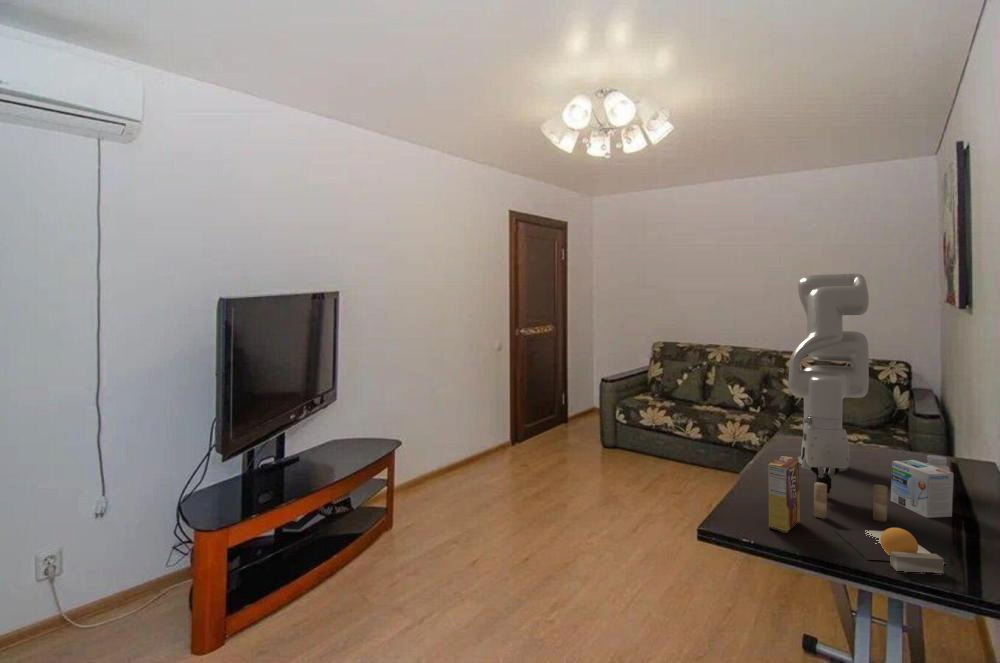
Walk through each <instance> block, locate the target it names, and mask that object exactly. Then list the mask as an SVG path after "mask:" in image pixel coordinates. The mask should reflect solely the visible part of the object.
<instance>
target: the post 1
mask: <svg viewBox="0 0 1000 663" xmlns="http://www.w3.org/2000/svg"><path fill="white" fill-rule="evenodd" d="M813 486H814V487H813V489H814V490H813V517H814V516H815V517H814V518H816V517H818V518H826V517H827V516H828V515H827V512H828V508H827V506H828V493H827V485H826V484H824V483H819V482H814V485H813ZM818 518H817V519H818ZM826 519H827V518H826Z"/></svg>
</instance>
